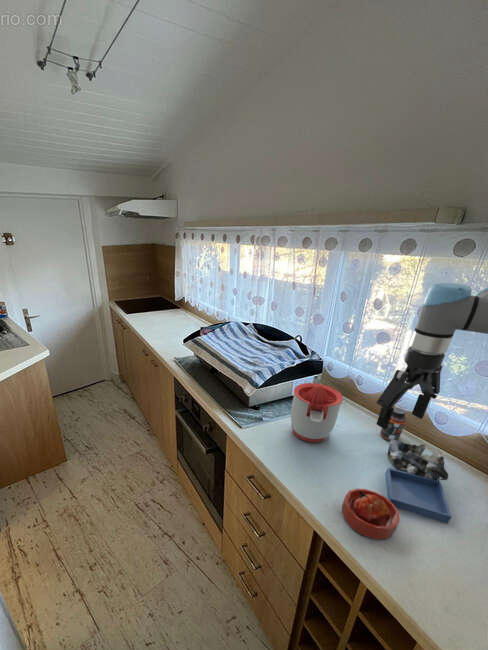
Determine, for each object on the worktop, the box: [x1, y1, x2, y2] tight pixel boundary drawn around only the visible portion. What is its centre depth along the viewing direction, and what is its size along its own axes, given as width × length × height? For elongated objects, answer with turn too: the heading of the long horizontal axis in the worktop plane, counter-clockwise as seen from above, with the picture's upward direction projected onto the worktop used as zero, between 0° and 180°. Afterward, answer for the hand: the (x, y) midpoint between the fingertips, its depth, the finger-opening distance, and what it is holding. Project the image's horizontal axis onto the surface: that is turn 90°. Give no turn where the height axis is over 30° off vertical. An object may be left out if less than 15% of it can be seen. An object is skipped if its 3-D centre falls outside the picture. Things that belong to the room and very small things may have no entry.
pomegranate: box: [354, 490, 389, 526], centre depth 78 cm, size 7×7×10 cm
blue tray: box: [384, 467, 453, 525], centre depth 85 cm, size 13×13×3 cm
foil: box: [387, 439, 449, 482], centre depth 94 cm, size 12×11×15 cm
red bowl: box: [341, 488, 401, 540], centre depth 79 cm, size 12×12×4 cm
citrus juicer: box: [290, 382, 344, 444], centre depth 107 cm, size 16×17×20 cm
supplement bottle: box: [379, 407, 407, 442], centre depth 107 cm, size 6×6×11 cm
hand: (399, 421), depth 85 cm, fingers open, 13 cm apart
